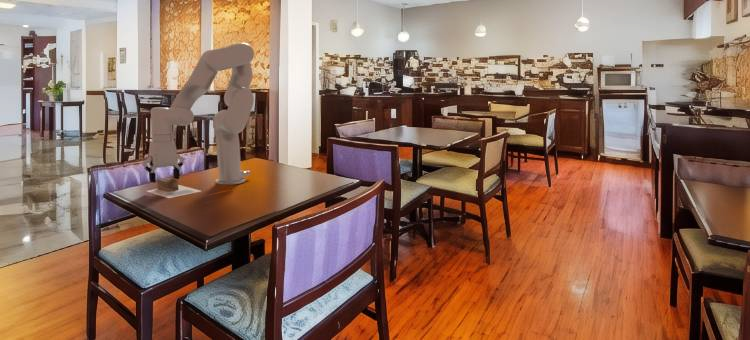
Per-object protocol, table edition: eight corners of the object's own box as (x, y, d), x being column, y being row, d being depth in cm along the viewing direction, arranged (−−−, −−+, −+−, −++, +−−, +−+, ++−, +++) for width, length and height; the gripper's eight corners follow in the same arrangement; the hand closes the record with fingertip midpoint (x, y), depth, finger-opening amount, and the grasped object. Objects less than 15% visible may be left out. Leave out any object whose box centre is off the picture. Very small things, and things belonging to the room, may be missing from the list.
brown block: (168, 186, 191) (167, 177, 190) (178, 189, 186) (177, 180, 185) (157, 189, 187) (156, 179, 187) (167, 191, 183) (166, 182, 182)
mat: (178, 185, 195) (178, 184, 195) (202, 192, 184) (202, 190, 184) (145, 192, 184) (145, 190, 184) (168, 199, 173) (168, 198, 173)
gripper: (178, 136, 191) (180, 176, 194) (136, 139, 178) (138, 182, 181) (188, 137, 187) (189, 178, 190) (145, 141, 173) (148, 185, 176)
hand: (165, 180), depth 185 cm, fingers open, 9 cm apart
